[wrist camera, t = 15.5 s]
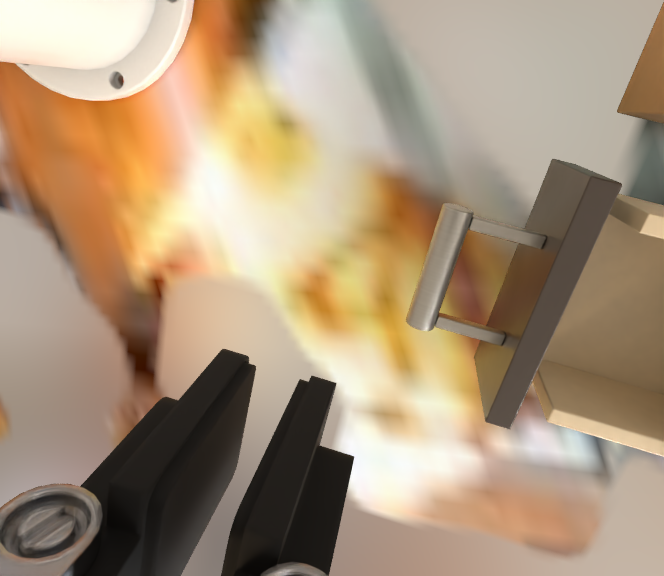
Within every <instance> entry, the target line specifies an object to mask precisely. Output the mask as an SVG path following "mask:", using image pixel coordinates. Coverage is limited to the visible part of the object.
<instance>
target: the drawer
mask: <svg viewBox="0 0 664 576" xmlns="http://www.w3.org/2000/svg"><path fill="white" fill-rule="evenodd" d="M621 187H622V184H621V183H619V182H617V181H614V180H612V179H609V178H607V177H605V176H602V175H600V174H597V173H595V172H593V171H590V170H588V169H585V168H582V167H580V166H578V165H576V164H572V163H568V162H564V161H560V160H556V159H552V161H551V163H550V166H549V168H548V171H547V173H546V176H545V178H544V181H543V184H542V186H541V188H540V191H539V194H538V196H537V199H536V201H535V204H534V206H533V209H532V211H531V214H530V216H529V219H528V221H527V224H526V226H525V229H523V228H519V227H516V226H512V225H508V224H504V223H501V222H497V221H493V220H489V219H486V218H482V217H478V216H474V215H473V211H472V210H470V209H468V208H466V207H463V206H460V205H456V204H451V203H444V204H443V206H442V209H441V212H440V215H439V218H438V221H437V224H436V227H435V230H434V234H433V237H432V240H431V243H430V246H429V249H428V252H427V255H426V258H425V262H424V265H423V268H422V271H421V274H420V277H419V280H418V283H417V287H416V290H415V293H414V296H413V299H412V302H411V305H410V308H409V311H408V315H407V318H406V322H407V323H408V324H409V325H410V326H412V327H413V328H416V329H418V330H422V331H431V330H432V329H433V328H434V325H435V327H437V328H441V329H444V330H447V331H451V332H454V333H458V334H461V335H465V336H468V337H472V338H475V339H479V340H480V343H479V345H478V348H477V350H476V353H475V356H474V359H475V365H476V370H477V376H478V382H479V388H480V393H481V399H482V405H483V411H484V417H485V421H486V422H488V423H491V424H494V425H497V426H501V427H504V428H507V429H510V428H511V426H512V424H513V422H514V420H515V418H516V416H517V413H518V411H519V409H520V407H521V405H522V402H523V400H524V398H525V396H526V394H527V392H528V389H529V387H530V385H531V383H532V382H533V385H534V388H535V390H536V393H537V396H538V398H539V401H540V404H541V407H542V409H543V412H544V415H545V417H546V420H547V421H548V422H550V423H553V424H557V425H560V426H563V427H566V428H570V429H573V430H576V431H580V432H583V433H586V434H590V435H593V436H596V437H600V438H603V439H606V440H610V441H613V442H616V443H620V444H623V445H626V446H630V447H633V448H636V449H640V450H643V451H646V452H650V453H653V454H656V455H659V456H663V457H664V205H661V204H657V203H653V202H649V201H645V200H641V199H637V198H633V197H629V196H625V195H622V194H618V193H619V191H620V189H621ZM468 228H469V230H471V231H475V232H478V233H482V234H486V235H490V236H493V237H497V238H501V239H504V240H508V241H512V242H516V243H519V244H518V247H517V249H516V252H515V254H514V257H513V259H512V262H511V264H510V267H509V269H508V272H507V275H506V277H505V280H504V282H503V285H502V287H501V290H500V292H499V295H498V297H497V300H496V302H495V305H494V307H493V310H492V312H491V315H490V318H489V320H488V323H487V325H486V326H484V325H481V324H477V323H474V322H470V321H467V320H463V319H460V318H456V317H453V316H449V315H446V314H442V313H439V311H440V308H441V305H442V302H443V299H444V297H445V294H446V291H447V288H448V285H449V282H450V279H451V277H452V274H453V271H454V268H455V265H456V262H457V259H458V256H459V254H460V251H461V248H462V245H463V242H464V239H465V236H466V233H467V231H468Z"/></svg>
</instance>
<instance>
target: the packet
mask: <svg viewBox="0 0 664 576" xmlns="http://www.w3.org/2000/svg"><path fill="white" fill-rule="evenodd" d="M617 112H618V113H622V114H626V115H630V116H634V117H638V118H642V119H646V120H650V121H655V122H659V123H663V124H664V2H663V5H662V7H661V9H660V12H659V14H658V17H657V19H656V21H655V23H654V26H653V28H652V30H651V33H650V35H649V38H648V40H647V42H646V44H645V47H644V49H643V52H642V54H641V56H640V59H639V61H638V63H637V65H636V68H635V70H634V72H633V75H632V77H631V79H630V82H629V84H628V86H627V89H626V91H625V94H624V96H623V98H622V100H621V103H620V105H619V107H618V110H617Z"/></svg>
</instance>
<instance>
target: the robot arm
mask: <svg viewBox="0 0 664 576" xmlns="http://www.w3.org/2000/svg"><path fill="white" fill-rule="evenodd" d="M193 6H194V0H0V61H2V62H12V63H15V64H16V65H17V66H19V67H20V68H21V69H22V70H23V71H24V72H25V73H27V74H28V75H29V76H30V77H31V78H32V79H34V80H35V81H37V82H39V83H40V84H42V85H44V86H45V87H47V88H49V89H50V90H52V91H55V92H57V93H60V94H63V95H65V96H68V97H71V98H77V99H84V100H90V101H109V100H114V99H119V98H125V97H128V96H131V95H133V94H135V93H137V92H139V91H142V90H144V89H145V88H147V87H148V86H149V85H151V84H152V83H153V82H155V81H156V80H157V79H158V78H160V77H161V76H162V74H163V73H164V72H165V71H166V70H167V68H168V67H169V66H170V65H171V64H172V62H173V61H174V59H175V58H176V56H177V54H178V52H179V50H180V48H181V47H182V45H183V43H184V41H185V38H186V34H187V31H188V28H189V25H190V22H191V19H192V13H193ZM122 79H123V80H124V83H123V81H122ZM255 371H256V366H255V365H251V364H249V357H248V356H246V355H243V354H239V353H236V352H233V351H230V350H226V349H222V350H221V351H220V353H218V355H217V356H216V357H215V358H214V359H213V361H212V362H211V363H210V364H209V365H208V367H207V368H206V369H205V370H204V371H203V372H202V373H201V375H200V376H199V377H198V378H197V379H196V381H195V382H194V383H193V384H192V385H191V387H190V388H189V389H188V390H187V391H186V392H185V393H184V395H183V396H182V397H181V398H180V399H179V400H175V399H172V398H169V397H164V398H162V399H161V400H160V401H158V402H157V403H156V404H155V406H154V407H153V408H152V409H151V410H150V411H149V412H148V413H147V414H146V415H145V416H144V418H143V419H142V420H141V421H140V422H139V423H138V424H137V425H136V426H135V427H134V428H133V430H132V431H131V432H130V433H129V434H128V435H127V436H126V437H125V438H124V439H123V440H122V442H121V443H120V444H119V445H118V446H117V447H116V448H115V449H114V450H113V451H112V452H111V454H110V455H109V456H108V457H107V458H106V459H105V460H104V461H103V462H102V463H101V464H100V466H99V467H98V468H97V469H96V470H95V471H94V472H93V473H92V474H91V475H90V476H89V478H88V479H87V480H86V481H85V482H84V483H83V484H82V485H81V486H80V487H79V486H75V485H72V484H50V485H45V486H40V487H36V488H33V489H31V490H28V491H26V492H23V493H21V494H19V495H18V496H16V497H15V498H13V499H12V500H10V501H9V502H7V503H6V504H4V505H3V506H2V507H1V508H0V576H181V574H182V572H183V570H184V568H185V566H186V564H187V563H188V561H189V559H190V557H191V555H192V553H193V551H194V549H195V547H196V546H197V544H198V542H199V540H200V538H201V536H202V534H203V532H204V531H205V529H206V527H207V525H208V523H209V521H210V519H211V517H212V515H213V513H214V512H215V510H216V508H217V506H218V504H219V502H220V500H221V498H222V497H223V495H224V493H225V491H226V489H227V487H228V485H229V483H230V481H231V479H232V477H233V475H234V473H235V470H236V467H237V463H238V458H239V452H240V448H241V443H242V438H243V433H244V428H245V422H246V417H247V412H248V407H249V402H250V397H251V392H252V387H253V381H254V376H255ZM335 387H336V383H334V382H331V381H328V380H325V379H321V378H318V377H315V376H311V378H310V380H309V382H307V381H304V380H301V379H300V380H299V382H298V384H297V387H296V388H295V391H294V393H293V395H292V397H291V399H290V401H289V403H288V405H287V407H286V409H285V412H284V414H283V416H282V418H281V420H280V422H279V424H278V426H277V428H276V431H275V432H274V435H273V437H272V439H271V441H270V443H269V445H268V447H267V449H266V451H265V454H264V456H263V458H262V460H261V462H260V464H259V466H258V469H257V470H256V472H255V475H254V477H253V479H252V481H251V483H250V485H249V487H248V489H247V492H246V493H245V496H244V498H243V500H242V502H241V504H240V506H239V509H238V511H237V514H236V516H235V519H234V522H233V525H232V528H231V531H230V535H229V540H228V544H227V549H226V554H225V560H224V564H223V570H222V574H221V576H329V572H330V567H331V562H332V558H333V553H334V548H335V544H336V539H337V535H338V530H339V526H340V521H341V516H342V511H343V507H344V502H345V498H346V493H347V489H348V484H349V479H350V475H351V470H352V465H353V460H354V456H351V455H348V454H344V453H341V452H338V451H335V450H332V449H329V448H326V447H322V446H319V445H320V442H321V438H322V435H323V431H324V427H325V423H326V420H327V416H328V413H329V409H330V405H331V402H332V398H333V395H334V391H335Z"/></svg>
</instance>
